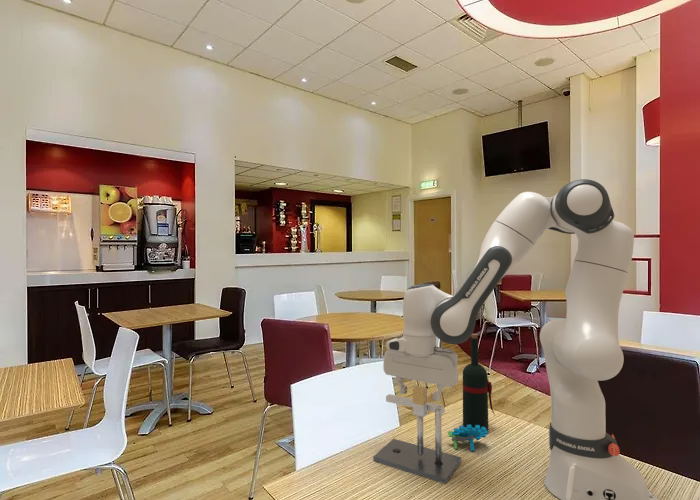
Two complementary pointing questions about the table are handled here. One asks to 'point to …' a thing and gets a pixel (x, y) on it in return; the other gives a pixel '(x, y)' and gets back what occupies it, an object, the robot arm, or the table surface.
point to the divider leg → (420, 414)
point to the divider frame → (439, 412)
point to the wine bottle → (476, 390)
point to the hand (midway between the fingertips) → (419, 396)
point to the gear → (467, 434)
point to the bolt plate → (417, 460)
